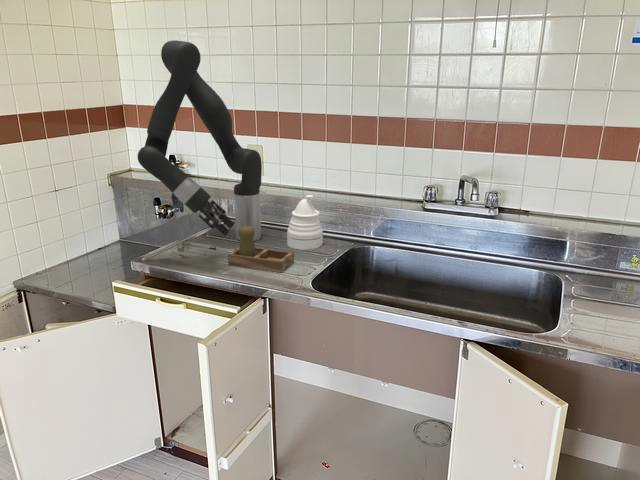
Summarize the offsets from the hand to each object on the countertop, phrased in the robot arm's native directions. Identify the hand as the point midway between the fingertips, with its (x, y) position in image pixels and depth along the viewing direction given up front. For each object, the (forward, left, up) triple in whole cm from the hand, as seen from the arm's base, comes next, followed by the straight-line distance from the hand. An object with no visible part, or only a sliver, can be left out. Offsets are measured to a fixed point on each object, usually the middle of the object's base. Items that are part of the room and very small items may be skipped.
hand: (230, 229), depth 164 cm
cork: (-1, +5, -10) cm, 11 cm away
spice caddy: (-2, +10, -11) cm, 15 cm away
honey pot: (-26, +15, -11) cm, 32 cm away
